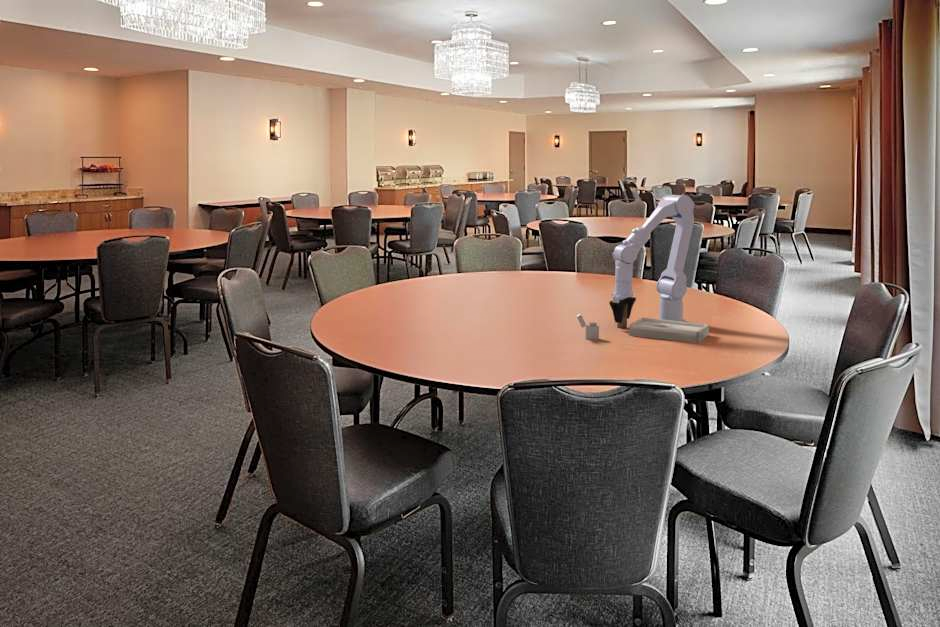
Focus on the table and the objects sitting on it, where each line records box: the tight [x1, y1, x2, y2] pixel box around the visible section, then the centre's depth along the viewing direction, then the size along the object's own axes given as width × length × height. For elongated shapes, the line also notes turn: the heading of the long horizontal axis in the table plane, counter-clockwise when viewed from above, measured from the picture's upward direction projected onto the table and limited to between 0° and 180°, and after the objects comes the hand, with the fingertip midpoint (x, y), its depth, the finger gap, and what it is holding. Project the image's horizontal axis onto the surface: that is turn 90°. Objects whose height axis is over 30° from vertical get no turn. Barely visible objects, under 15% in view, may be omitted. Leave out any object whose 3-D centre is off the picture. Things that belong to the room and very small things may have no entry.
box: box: [628, 317, 710, 344], centre depth 233 cm, size 13×22×4 cm, turn 59°
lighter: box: [576, 313, 600, 341], centre depth 228 cm, size 7×2×8 cm, turn 81°
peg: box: [616, 304, 628, 329], centre depth 244 cm, size 3×3×8 cm
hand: (622, 320), depth 244 cm, fingers open, 7 cm apart
